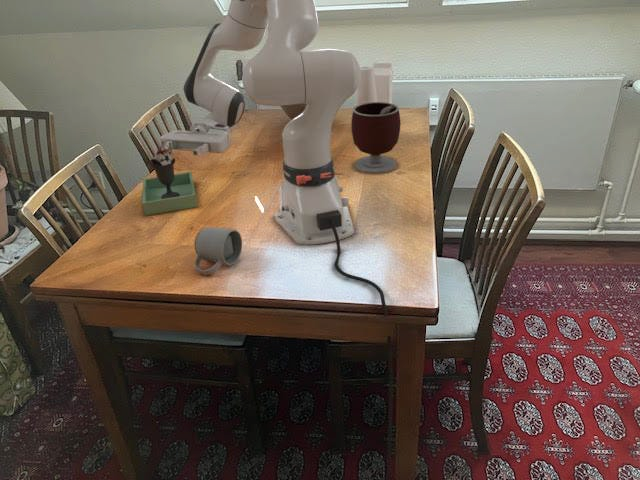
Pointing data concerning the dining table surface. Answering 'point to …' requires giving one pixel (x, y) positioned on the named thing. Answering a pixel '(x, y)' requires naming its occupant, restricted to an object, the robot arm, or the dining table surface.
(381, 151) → the mate gourd
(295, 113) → the ceramic bowl
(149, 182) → the green tray
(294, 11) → the robot arm
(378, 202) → the dining table surface
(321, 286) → the dining table surface
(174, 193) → the sundae
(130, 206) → the dining table surface
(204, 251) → the ceramic mug
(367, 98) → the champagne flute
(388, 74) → the milk
